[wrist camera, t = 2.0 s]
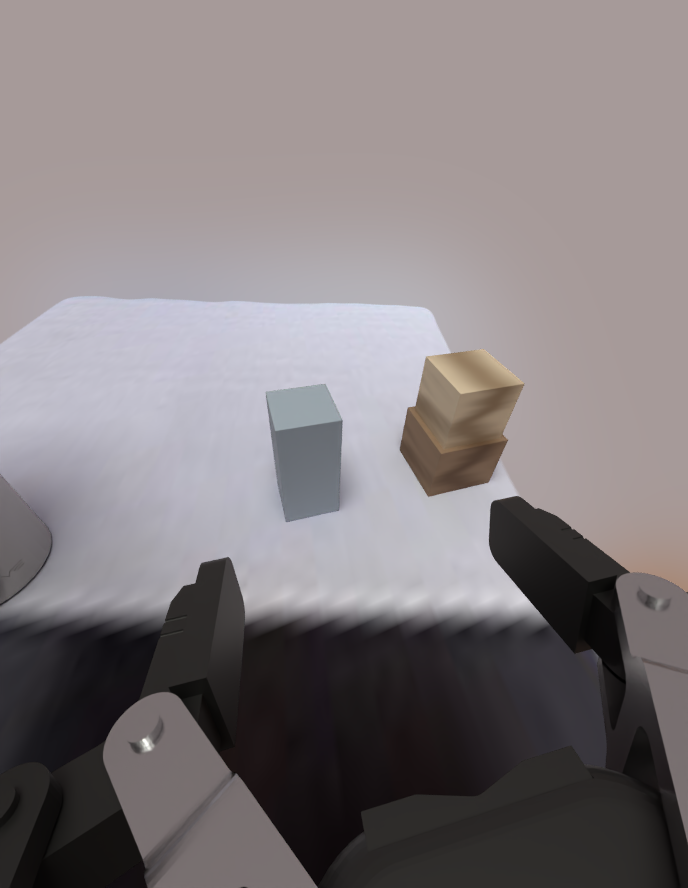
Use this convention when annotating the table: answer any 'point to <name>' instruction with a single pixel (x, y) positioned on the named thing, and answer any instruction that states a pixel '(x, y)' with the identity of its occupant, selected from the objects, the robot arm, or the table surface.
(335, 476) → the slate block
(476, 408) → the beech block
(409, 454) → the walnut block
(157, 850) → the robot arm
